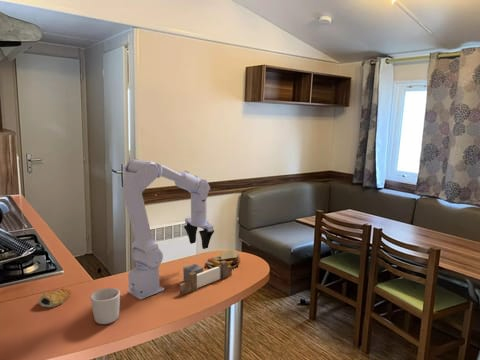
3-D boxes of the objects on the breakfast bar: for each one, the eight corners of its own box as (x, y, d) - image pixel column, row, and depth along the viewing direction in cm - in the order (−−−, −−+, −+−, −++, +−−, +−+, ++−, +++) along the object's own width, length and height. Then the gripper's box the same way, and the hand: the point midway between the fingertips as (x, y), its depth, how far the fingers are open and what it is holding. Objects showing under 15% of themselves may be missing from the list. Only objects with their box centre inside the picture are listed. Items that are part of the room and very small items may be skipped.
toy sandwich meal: (208, 258, 153) (208, 247, 152) (240, 259, 153) (240, 248, 152) (204, 271, 141) (203, 259, 140) (239, 272, 140) (239, 260, 139)
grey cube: (192, 285, 129) (191, 271, 128) (183, 280, 132) (183, 267, 132) (203, 281, 132) (203, 267, 132) (194, 276, 136) (194, 263, 135)
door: (196, 288, 126) (196, 274, 125) (194, 287, 127) (194, 273, 126) (221, 278, 134) (221, 265, 133) (219, 277, 135) (219, 264, 134)
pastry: (60, 292, 124) (59, 282, 123) (76, 296, 121) (75, 285, 121) (36, 306, 115) (35, 294, 114) (53, 310, 113) (53, 298, 112)
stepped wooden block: (182, 295, 121) (182, 278, 120) (178, 293, 123) (178, 276, 122) (232, 275, 137) (232, 260, 136) (228, 273, 138) (228, 258, 137)
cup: (83, 315, 109) (81, 290, 108) (109, 306, 115) (108, 281, 113) (99, 330, 102) (97, 303, 100) (126, 319, 107) (125, 294, 106)
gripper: (219, 212, 135) (219, 248, 138) (195, 205, 146) (195, 238, 148) (204, 215, 131) (204, 252, 133) (180, 208, 141) (181, 242, 143)
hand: (198, 245), depth 140 cm, fingers open, 7 cm apart
